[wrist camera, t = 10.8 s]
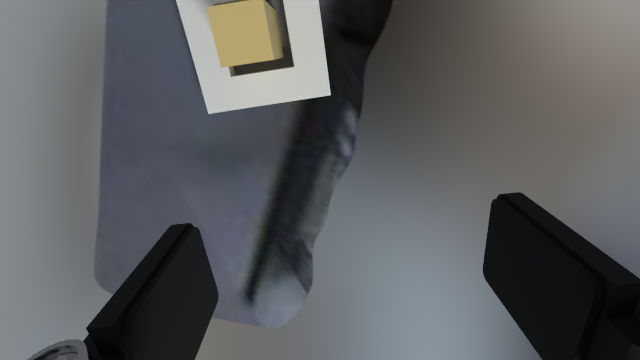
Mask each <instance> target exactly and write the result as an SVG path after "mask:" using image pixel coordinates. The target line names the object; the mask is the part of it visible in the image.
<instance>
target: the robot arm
mask: <svg viewBox="0 0 640 360" xmlns="http://www.w3.org/2000/svg"><path fill="white" fill-rule="evenodd" d="M483 274H484V277H485V279H486V281H487V282H488V284H489V285H490V287H491V288H492V290H493V291H494V292H495V294H496V295H497V297H498V298H499V299H500V301H501V302H502V304H503V305H504V306H505V308H506V309H507V311H508V312H509V313H510V315H511V316H512V318H513V319H514V320H515V322H516V323H517V324H518V326H519V327H520V329H521V330H522V331H523V333H524V334H525V336H526V337H527V339H528V340H529V341H530V343H531V344H532V346H533V347H534V349H535V350H536V351H537V352H538V354H539V355H540V357H541V358H542V360H640V279H639V278H638V277H637V276H635V275H634V274H633V273H631V272H630V271H628V270H627V269H625V268H624V267H623V266H622V265H620V264H619V263H617V262H616V261H615V260H613V259H612V258H611V257H609V256H608V255H606V254H605V253H604V252H602V251H601V250H600V249H598V248H597V247H595V246H594V245H593V244H591V243H590V242H589V241H587V240H586V239H584V238H583V237H582V236H580V235H579V234H578V233H576V232H575V231H573V230H572V229H571V228H569V227H568V226H567V225H565V224H564V223H562V222H561V221H560V220H558V219H557V218H556V217H554V216H553V215H551V214H550V213H549V212H547V211H546V210H544V209H543V208H542V207H540V206H539V205H538V204H536V203H535V202H534V201H532V200H531V199H529V198H528V197H527V196H525V195H524V194H522V193H508V194H500V195H498V197H497V199H494V200H493V201H492V203H491V210H490V217H489V225H488V233H487V240H486V248H485V255H484V263H483ZM217 302H218V290H217V286H216V283H215V280H214V277H213V273H212V270H211V267H210V264H209V260H208V257H207V254H206V250H205V247H204V244H203V241H202V237H201V234H200V231H199V229H198V228H197V227H194V226H193V225H192V224H191V223H186V224H176V225H171V226H170V227H169V228H168V229H167V231H166V232H165V233H164V234H163V235H162V237H161V238H160V239H159V240H158V241H157V243H156V244H155V245H154V246H153V248H152V249H151V250H150V251H149V252H148V254H147V255H146V256H145V257H144V258H143V260H142V261H141V262H140V263H139V265H138V266H137V267H136V268H135V269H134V271H133V272H132V273H131V274H130V276H129V277H128V278H127V279H126V280H125V282H124V283H123V284H122V285H121V286H120V288H119V289H118V290H117V291H116V293H115V294H114V295H113V296H112V297H111V299H110V300H109V301H108V302H107V303H106V305H105V306H104V307H103V308H102V310H101V311H100V312H99V313H98V314H97V316H96V317H95V318H94V319H93V321H92V322H91V323H90V324H89V325H88V327H87V328H86V329H87V331H88V333H89V335H88V336H87V337H86V338H85V340H84V341H83V342H82V341H80V340H65V341H61V342H58V343H55V344H53V345H51V346H48V347H46V348H44V349H43V350H41V351H39V352H37V353H36V354H34V355H33V356H32V357H30V358H29V359H27V360H195V358H196V355H197V353H198V350H199V348H200V345H201V342H202V340H203V338H204V335H205V332H206V330H207V327H208V325H209V322H210V320H211V317H212V315H213V312H214V310H215V307H216V305H217Z"/></svg>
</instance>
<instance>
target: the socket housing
mask: <svg viewBox="0 0 640 360" xmlns="http://www.w3.org/2000/svg"><path fill="white" fill-rule="evenodd" d="M241 1H247V0H176V2H177V5H178V9H179V12H180V16H181V19H182V23H183V26H184V30H185V33H186V37H187V40H188V44H189V47H190V51H191V54H192V57H193V61H194V64H195V68H196V71H197V75H198V78H199V82H200V85H201V89H202V92H203V96H204V99H205V103H206V106H207V110H208V113H209V114H211V113H217V112H224V111H230V110H237V109H243V108H250V107H256V106H263V105H269V104H276V103H282V102H289V101H296V100H302V99H309V98H315V97H322V96H328V95H331V93H330V85H329V77H328V70H327V62H326V54H325V47H324V39H323V31H322V24H321V16H320V8H319V0H265V1H266V2H267V3H268V4H269V5H270V6H271V7H272V8H273V9H274V10H275V11H276V14H277V20H278V25H279V31H280V37H281V43H282V48H283V54H284V58H279V59H275V60H269V61H263V62H256V63H250V64H243V65H237V66H230V67H224V68H221V66H220V62H219V58H218V54H217V50H216V46H215V42H214V38H213V34H212V30H211V26H210V22H209V18H208V14H207V10H206V7H210V6H216V5H222V4H228V3H234V2H241Z"/></svg>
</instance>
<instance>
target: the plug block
mask: <svg viewBox="0 0 640 360" xmlns="http://www.w3.org/2000/svg"><path fill="white" fill-rule="evenodd" d="M206 10H207V14H208V18H209V22H210V26H211V30H212V34H213V38H214V42H215V46H216V50H217V54H218V58H219V62H220V66H221V68H224V67H230V66H237V65H243V64H250V63H256V62H263V61H269V60H275V59H279V58H284V54H283V48H282V43H281V37H280V31H279V25H278V20H277V14H276V11H275V10H274V9H273V8H272V7H271V6H270V5H269V4H268V3H267V2H266V1H265V0H247V1H241V2H234V3H228V4H222V5H216V6H210V7H206Z"/></svg>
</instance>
